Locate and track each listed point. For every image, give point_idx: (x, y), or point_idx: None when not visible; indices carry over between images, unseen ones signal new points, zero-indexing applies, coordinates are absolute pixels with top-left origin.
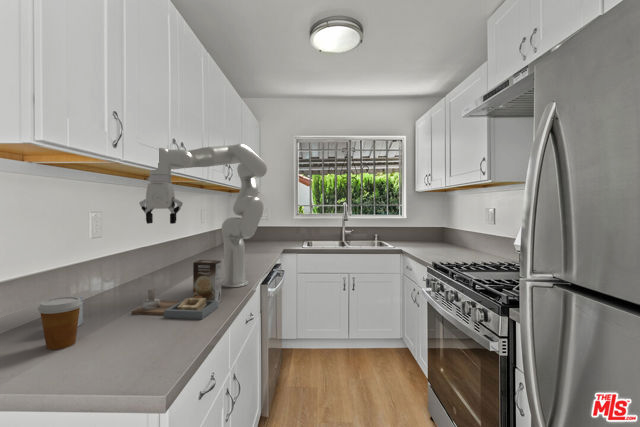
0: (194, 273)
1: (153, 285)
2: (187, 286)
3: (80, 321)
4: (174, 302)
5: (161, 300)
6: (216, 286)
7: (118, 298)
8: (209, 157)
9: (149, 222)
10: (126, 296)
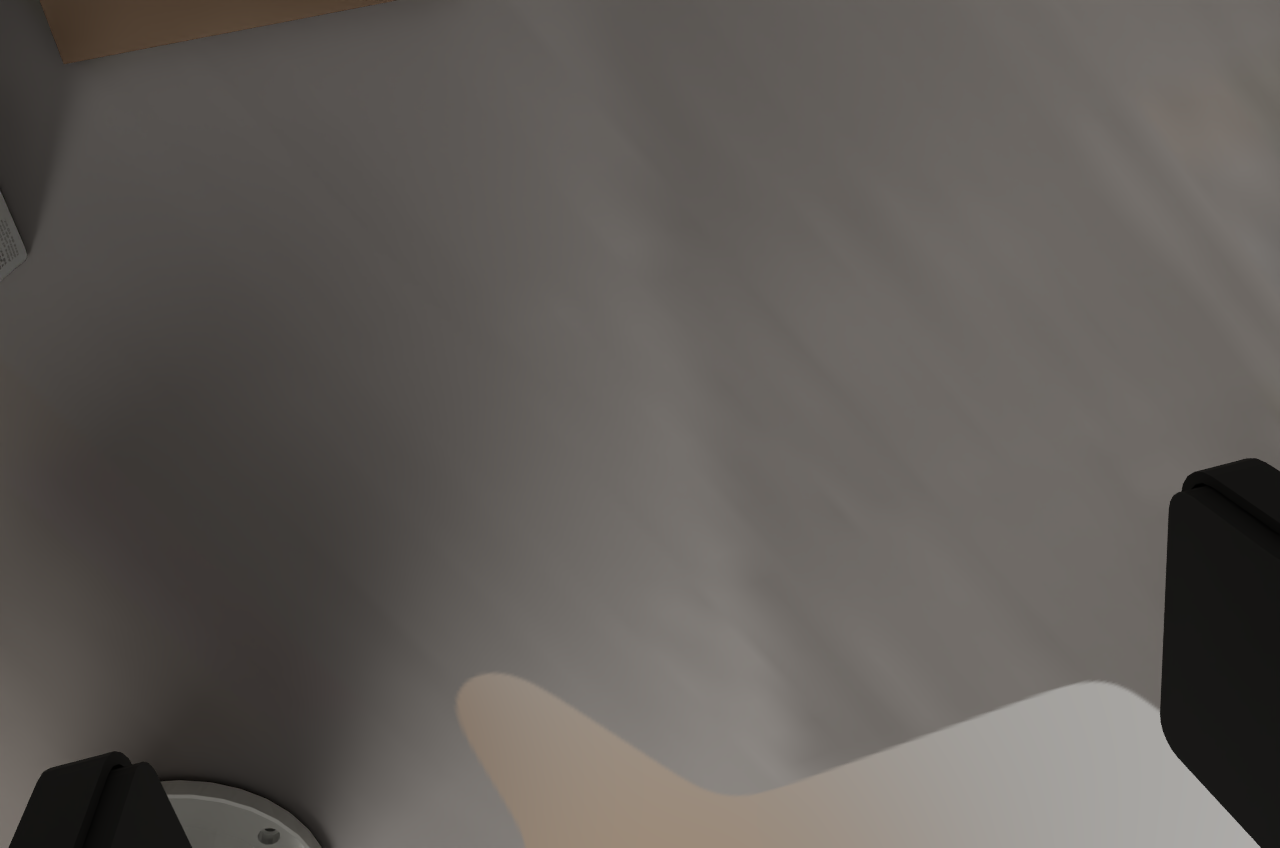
0: None
1: (986, 574)
2: (617, 665)
3: None
4: None
5: (368, 1)
6: None
7: (997, 24)
8: None
9: (1184, 564)
10: (968, 123)
